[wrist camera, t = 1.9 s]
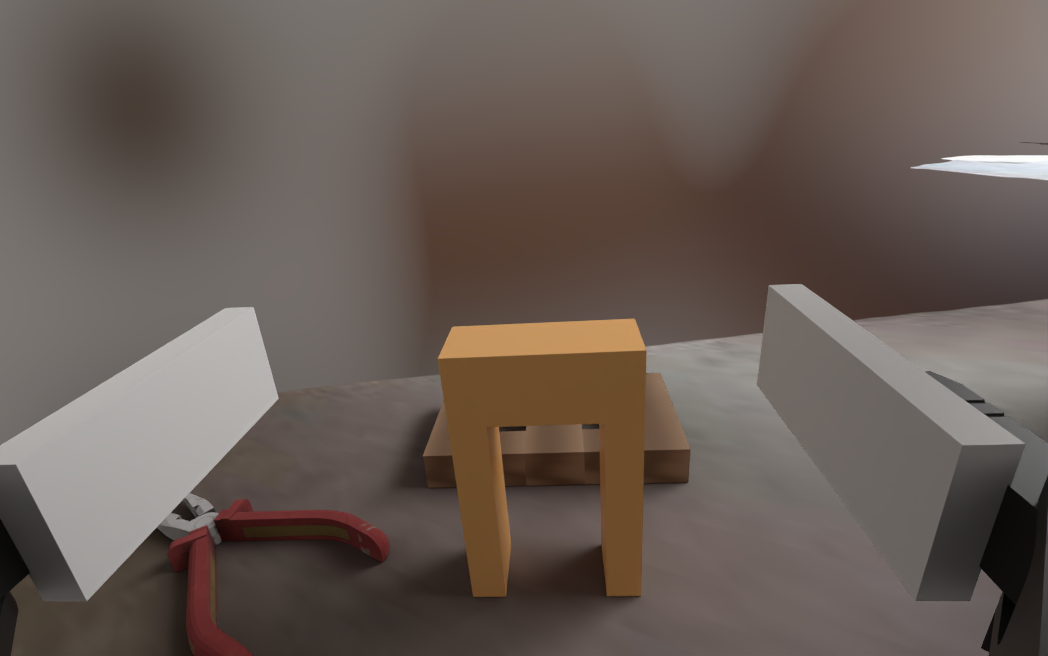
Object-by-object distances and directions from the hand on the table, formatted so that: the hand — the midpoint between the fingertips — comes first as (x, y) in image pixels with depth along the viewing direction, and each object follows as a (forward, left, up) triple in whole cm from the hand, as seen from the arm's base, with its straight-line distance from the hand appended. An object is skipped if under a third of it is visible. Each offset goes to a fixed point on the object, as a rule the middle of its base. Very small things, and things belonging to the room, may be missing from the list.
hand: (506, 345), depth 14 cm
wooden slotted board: (0, -27, -21) cm, 34 cm away
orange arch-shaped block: (0, -12, -21) cm, 25 cm away
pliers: (+20, -15, -22) cm, 33 cm away
